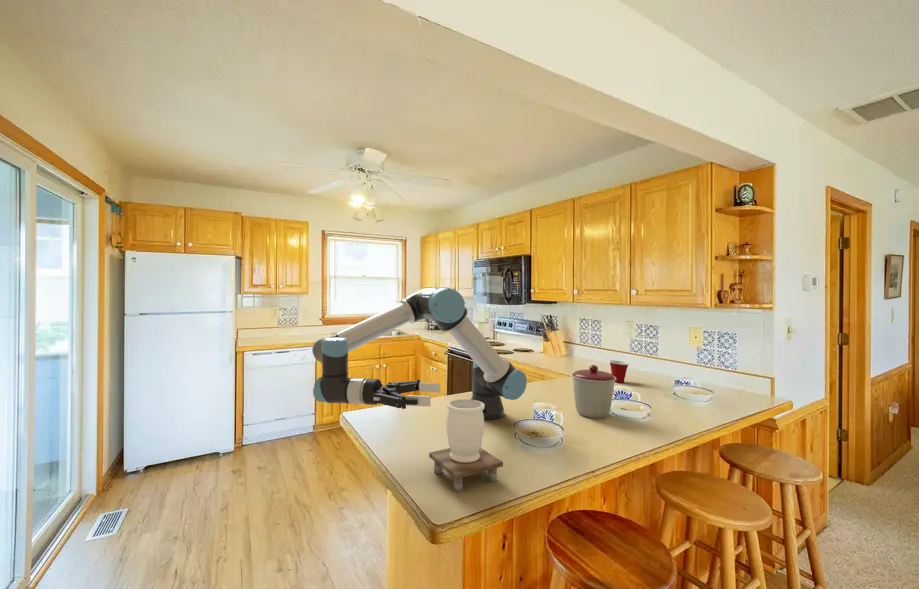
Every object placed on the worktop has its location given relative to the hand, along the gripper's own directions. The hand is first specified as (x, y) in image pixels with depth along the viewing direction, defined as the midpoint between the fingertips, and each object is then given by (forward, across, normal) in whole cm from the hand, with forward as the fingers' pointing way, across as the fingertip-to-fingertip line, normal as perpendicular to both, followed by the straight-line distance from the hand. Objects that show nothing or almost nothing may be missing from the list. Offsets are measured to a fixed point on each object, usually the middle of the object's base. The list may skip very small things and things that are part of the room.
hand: (435, 394), depth 112 cm
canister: (+55, -60, -24) cm, 85 cm away
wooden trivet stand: (+9, +3, -22) cm, 24 cm away
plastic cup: (+82, -123, -26) cm, 150 cm away
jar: (+9, +3, -17) cm, 19 cm away
